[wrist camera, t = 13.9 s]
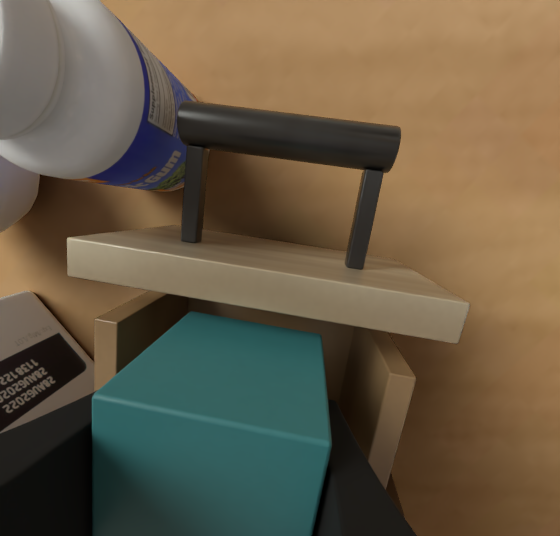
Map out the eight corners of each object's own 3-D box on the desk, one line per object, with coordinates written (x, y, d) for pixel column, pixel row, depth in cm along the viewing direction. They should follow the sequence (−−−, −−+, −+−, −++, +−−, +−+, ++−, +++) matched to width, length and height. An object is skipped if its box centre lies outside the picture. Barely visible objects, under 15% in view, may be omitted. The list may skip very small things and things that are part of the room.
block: (322, 333, 9) (333, 444, 5) (300, 447, 10) (294, 625, 6) (190, 309, 10) (89, 394, 5) (181, 422, 11) (89, 573, 6)
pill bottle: (133, 202, 16) (-134, 191, 6) (101, 98, 15) (-270, -99, 5) (225, 179, 15) (80, 126, 5) (198, 68, 14) (-36, -229, 5)
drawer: (180, 128, 14) (61, 54, 7) (418, 159, 13) (531, 107, 6) (161, 439, 18) (73, 576, 11) (343, 478, 17) (364, 651, 10)
